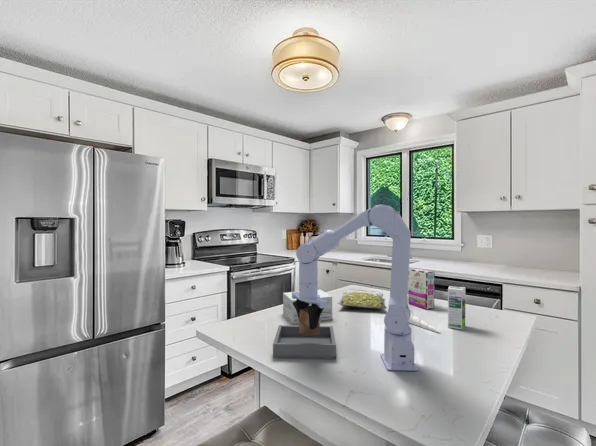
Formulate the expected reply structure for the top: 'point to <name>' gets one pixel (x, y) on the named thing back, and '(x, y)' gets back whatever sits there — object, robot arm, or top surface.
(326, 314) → the supplement box
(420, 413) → the top surface
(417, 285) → the candy bar box
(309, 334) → the walnut block
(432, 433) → the top surface
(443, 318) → the top surface
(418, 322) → the unicorn horn
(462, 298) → the syrup box
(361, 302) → the frozen beans
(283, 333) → the charcoal bin
